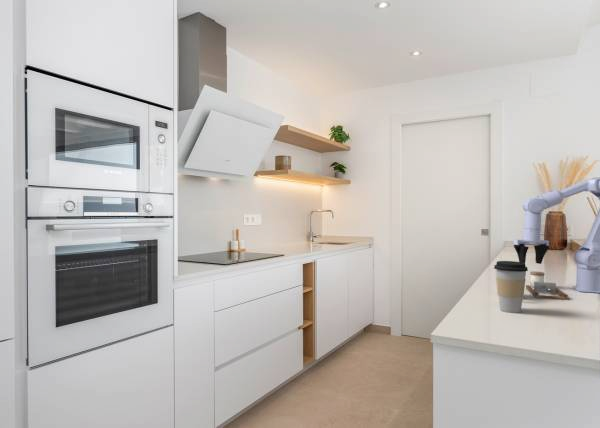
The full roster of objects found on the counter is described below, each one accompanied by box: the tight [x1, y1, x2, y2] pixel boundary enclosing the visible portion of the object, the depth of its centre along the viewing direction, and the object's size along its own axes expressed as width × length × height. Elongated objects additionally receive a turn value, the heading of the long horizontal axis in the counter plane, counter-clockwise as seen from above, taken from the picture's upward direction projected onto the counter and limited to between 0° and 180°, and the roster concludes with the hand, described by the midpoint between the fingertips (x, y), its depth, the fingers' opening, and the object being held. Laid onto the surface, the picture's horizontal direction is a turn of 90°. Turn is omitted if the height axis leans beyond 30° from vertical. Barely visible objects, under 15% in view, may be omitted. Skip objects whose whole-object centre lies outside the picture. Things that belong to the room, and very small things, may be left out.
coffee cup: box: [493, 260, 529, 314], centre depth 126 cm, size 9×9×15 cm
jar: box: [529, 270, 546, 289], centre depth 162 cm, size 5×5×6 cm
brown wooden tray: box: [525, 284, 570, 301], centre depth 150 cm, size 10×16×2 cm, turn 162°
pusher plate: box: [533, 281, 557, 295], centre depth 148 cm, size 7×8×4 cm
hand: (530, 263), depth 160 cm, fingers open, 7 cm apart
